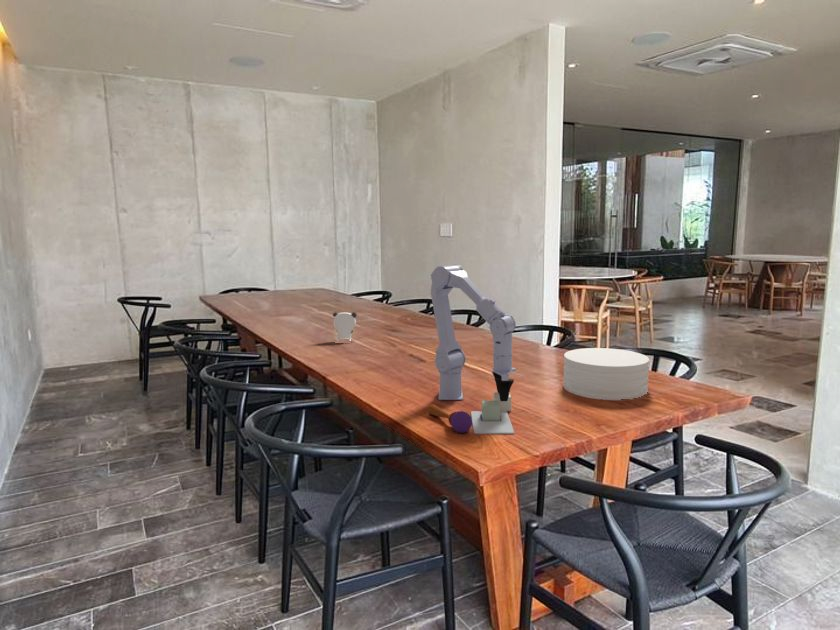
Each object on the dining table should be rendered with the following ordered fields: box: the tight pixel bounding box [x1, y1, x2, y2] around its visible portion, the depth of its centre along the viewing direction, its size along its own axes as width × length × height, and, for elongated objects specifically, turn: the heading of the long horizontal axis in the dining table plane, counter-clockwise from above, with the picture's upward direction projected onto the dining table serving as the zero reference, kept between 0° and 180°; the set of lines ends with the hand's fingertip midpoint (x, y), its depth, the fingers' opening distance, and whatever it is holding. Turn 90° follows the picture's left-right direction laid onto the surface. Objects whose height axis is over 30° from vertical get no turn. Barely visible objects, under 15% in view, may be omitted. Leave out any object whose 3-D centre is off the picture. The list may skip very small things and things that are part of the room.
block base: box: [481, 400, 500, 421], centre depth 164 cm, size 5×5×4 cm
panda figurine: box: [332, 311, 358, 341], centre depth 281 cm, size 12×11×15 cm
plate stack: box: [562, 347, 650, 401], centre depth 194 cm, size 28×28×12 cm
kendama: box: [427, 403, 473, 434], centre depth 161 cm, size 6×6×20 cm
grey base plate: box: [470, 410, 515, 435], centre depth 162 cm, size 18×11×1 cm, turn 178°
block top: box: [493, 392, 512, 412], centre depth 174 cm, size 5×5×4 cm
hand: (502, 397), depth 174 cm, fingers open, 7 cm apart
